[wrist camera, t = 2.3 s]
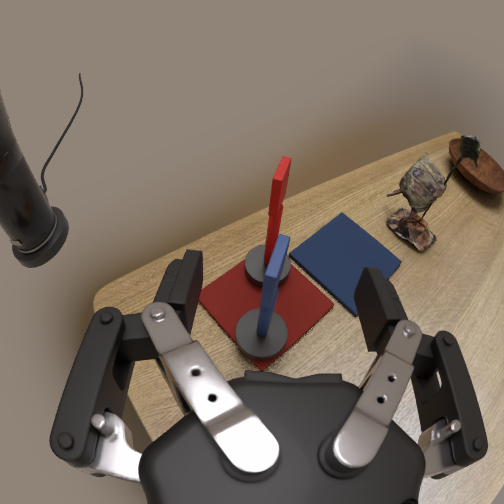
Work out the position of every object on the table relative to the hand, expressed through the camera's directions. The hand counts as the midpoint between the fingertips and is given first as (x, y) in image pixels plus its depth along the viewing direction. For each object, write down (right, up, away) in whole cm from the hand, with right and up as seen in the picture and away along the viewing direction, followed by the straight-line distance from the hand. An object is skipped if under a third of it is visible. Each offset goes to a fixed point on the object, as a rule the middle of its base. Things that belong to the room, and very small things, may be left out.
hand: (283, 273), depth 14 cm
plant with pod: (+24, +5, +29) cm, 38 cm away
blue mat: (+12, 0, +24) cm, 27 cm away
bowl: (+55, +20, +41) cm, 72 cm away
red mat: (0, -5, +20) cm, 21 cm away
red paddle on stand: (0, -1, +22) cm, 22 cm away
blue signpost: (0, -8, +17) cm, 19 cm away
